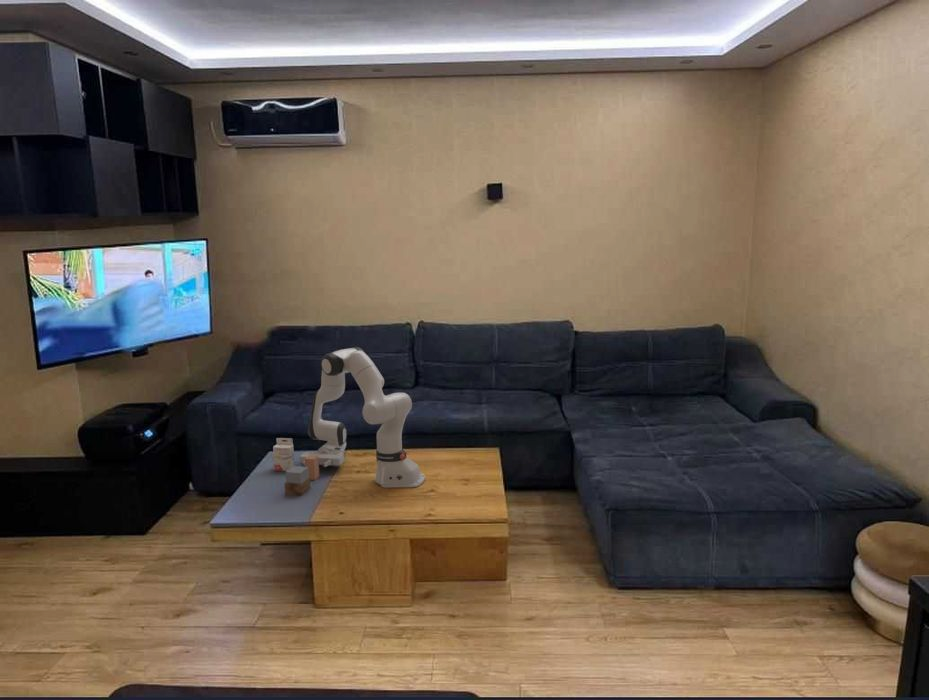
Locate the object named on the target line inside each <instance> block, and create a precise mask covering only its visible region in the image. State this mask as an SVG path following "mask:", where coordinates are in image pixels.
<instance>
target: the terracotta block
mask: <svg viewBox="0 0 929 700" xmlns="http://www.w3.org/2000/svg"><path fill="white" fill-rule="evenodd" d="M304 467H308V472H309V478H310V481H316V480H318V479H319V478H320V464H319V461H318V456H314V455H309V456H307V457H306V458H305V466H304Z"/></svg>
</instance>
